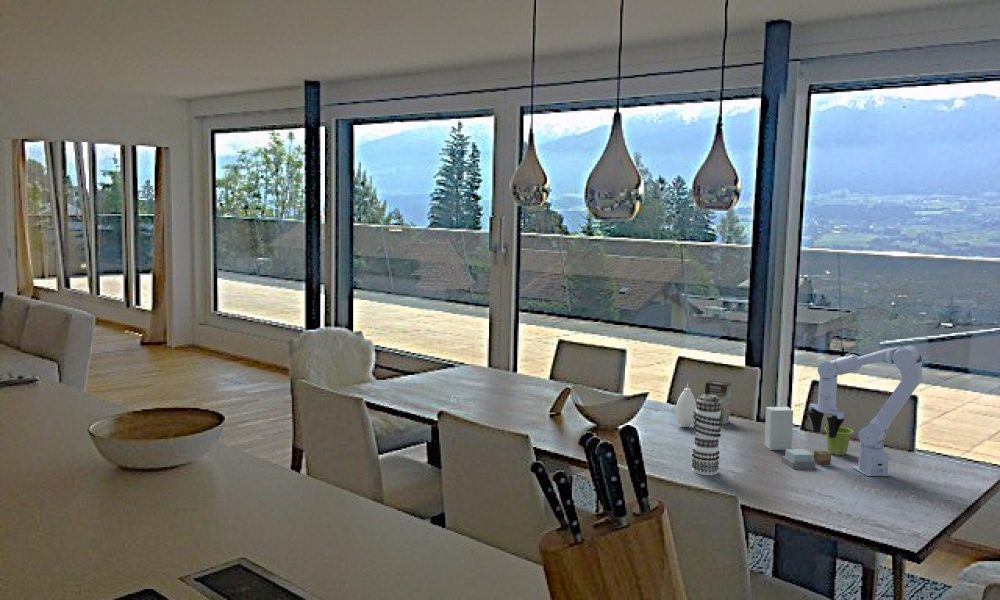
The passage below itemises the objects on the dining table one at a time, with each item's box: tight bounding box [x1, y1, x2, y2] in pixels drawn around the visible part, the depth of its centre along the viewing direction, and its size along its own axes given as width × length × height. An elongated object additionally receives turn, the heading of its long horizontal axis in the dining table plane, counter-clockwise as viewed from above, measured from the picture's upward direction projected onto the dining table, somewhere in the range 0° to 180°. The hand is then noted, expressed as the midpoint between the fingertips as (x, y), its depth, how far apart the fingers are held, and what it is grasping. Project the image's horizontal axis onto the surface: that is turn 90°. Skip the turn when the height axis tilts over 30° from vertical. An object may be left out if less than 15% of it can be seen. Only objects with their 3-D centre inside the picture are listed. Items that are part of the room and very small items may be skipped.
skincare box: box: [764, 406, 794, 451], centre depth 304 cm, size 8×6×15 cm
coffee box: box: [704, 379, 732, 425], centre depth 341 cm, size 9×6×16 cm
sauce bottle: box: [675, 381, 697, 428], centre depth 330 cm, size 8×8×18 cm
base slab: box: [781, 455, 816, 470], centre depth 284 cm, size 8×8×2 cm
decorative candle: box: [691, 393, 723, 476], centre depth 273 cm, size 9×9×25 cm
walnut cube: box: [813, 450, 832, 466], centre depth 286 cm, size 4×4×4 cm
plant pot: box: [824, 426, 854, 456], centre depth 300 cm, size 9×9×9 cm
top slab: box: [784, 448, 814, 462], centre depth 284 cm, size 6×6×2 cm
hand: (824, 434), depth 288 cm, fingers open, 7 cm apart
